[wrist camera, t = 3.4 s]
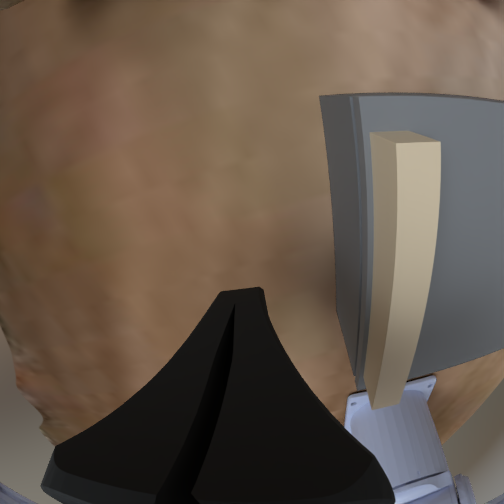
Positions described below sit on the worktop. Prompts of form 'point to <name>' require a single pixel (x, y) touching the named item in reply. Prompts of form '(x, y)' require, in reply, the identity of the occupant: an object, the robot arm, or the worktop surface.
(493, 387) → the worktop surface
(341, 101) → the box
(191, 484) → the robot arm
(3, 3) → the tankard
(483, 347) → the lid
